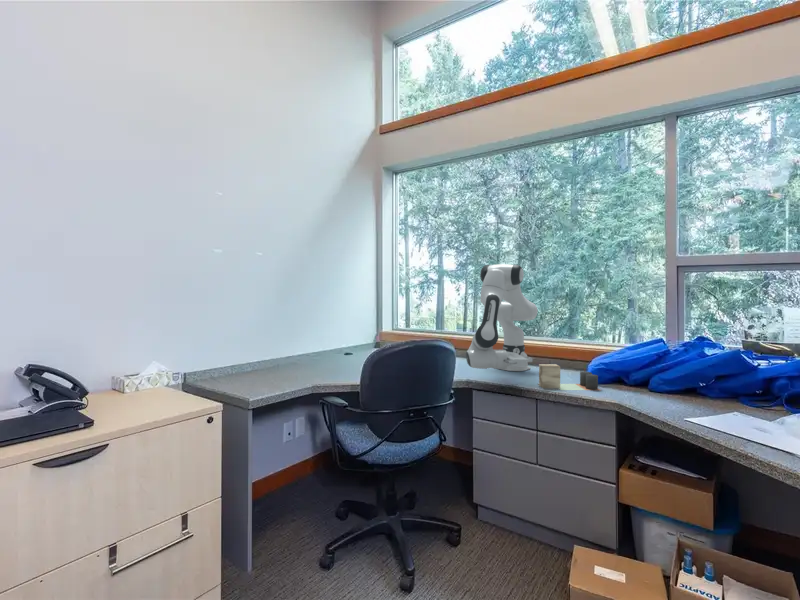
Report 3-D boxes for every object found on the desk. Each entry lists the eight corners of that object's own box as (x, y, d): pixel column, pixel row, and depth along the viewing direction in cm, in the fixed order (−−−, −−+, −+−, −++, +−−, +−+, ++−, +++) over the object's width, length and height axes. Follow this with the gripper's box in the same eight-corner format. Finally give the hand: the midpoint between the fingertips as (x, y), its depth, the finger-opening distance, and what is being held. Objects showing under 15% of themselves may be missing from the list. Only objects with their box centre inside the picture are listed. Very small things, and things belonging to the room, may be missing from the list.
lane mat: (536, 384, 191) (536, 383, 191) (589, 385, 190) (589, 383, 190) (545, 391, 179) (545, 390, 179) (601, 391, 178) (601, 390, 178)
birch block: (539, 385, 188) (539, 364, 187) (556, 385, 187) (556, 364, 187) (542, 388, 183) (542, 366, 182) (560, 388, 182) (560, 366, 182)
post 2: (583, 387, 184) (583, 374, 184) (594, 387, 184) (594, 374, 184) (588, 389, 179) (588, 376, 179) (599, 389, 179) (600, 376, 179)
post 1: (578, 384, 190) (578, 371, 190) (588, 384, 190) (589, 371, 190) (582, 386, 185) (582, 373, 185) (593, 386, 185) (593, 373, 185)
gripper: (507, 355, 175) (538, 356, 174) (497, 349, 195) (525, 349, 195) (506, 370, 175) (538, 370, 174) (497, 362, 195) (525, 362, 195)
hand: (531, 359), depth 185 cm, fingers closed
